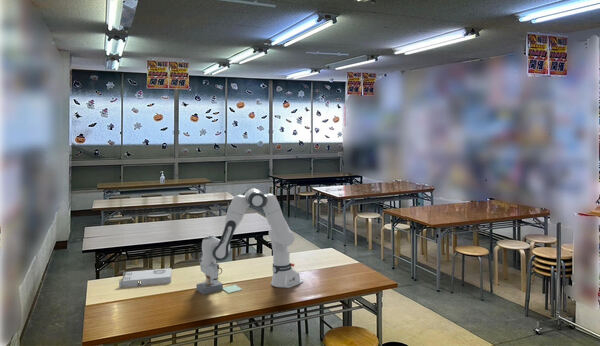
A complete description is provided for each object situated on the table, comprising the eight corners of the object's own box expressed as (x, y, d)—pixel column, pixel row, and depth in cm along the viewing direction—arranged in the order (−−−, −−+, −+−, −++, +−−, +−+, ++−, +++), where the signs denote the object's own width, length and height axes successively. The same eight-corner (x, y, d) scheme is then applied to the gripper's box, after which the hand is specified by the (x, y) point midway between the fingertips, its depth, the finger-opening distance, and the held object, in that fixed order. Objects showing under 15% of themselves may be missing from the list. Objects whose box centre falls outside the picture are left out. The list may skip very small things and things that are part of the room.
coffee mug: (204, 278, 292) (204, 264, 291) (216, 275, 297) (215, 262, 297) (211, 282, 283) (211, 268, 282) (223, 280, 288) (223, 266, 287)
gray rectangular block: (216, 285, 278) (216, 279, 278) (222, 289, 270) (222, 283, 270) (196, 289, 270) (196, 284, 270) (202, 294, 262) (202, 288, 262)
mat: (235, 285, 278) (235, 284, 278) (242, 290, 270) (242, 289, 270) (221, 288, 272) (221, 288, 272) (228, 293, 264) (228, 292, 264)
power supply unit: (123, 279, 293) (123, 272, 292) (171, 274, 301) (171, 268, 301) (119, 288, 274) (119, 281, 274) (171, 283, 283) (170, 276, 283)
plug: (211, 288, 273) (211, 275, 272) (214, 290, 270) (213, 276, 269) (205, 289, 271) (205, 276, 270) (208, 291, 267) (207, 278, 266)
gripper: (220, 264, 262) (221, 285, 263) (207, 256, 278) (207, 276, 280) (211, 265, 258) (211, 287, 259) (198, 258, 275) (198, 278, 276)
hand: (209, 281), depth 270 cm, fingers closed on plug, 4 cm apart
